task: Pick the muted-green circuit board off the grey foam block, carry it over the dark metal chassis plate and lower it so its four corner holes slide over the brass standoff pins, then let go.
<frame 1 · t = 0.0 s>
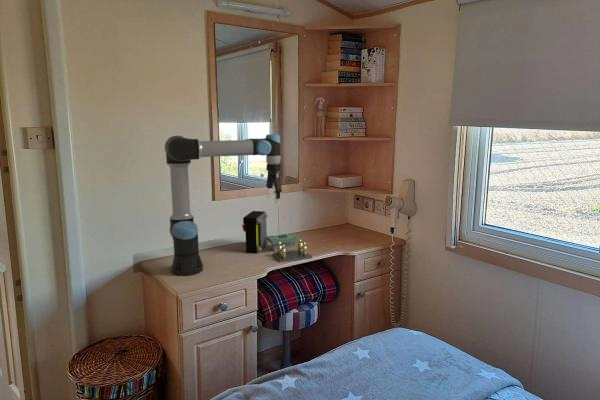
hand: (274, 202, 238), 28 cm above the table, fingers open, 13 cm apart
board: (282, 240, 247), point 5 cm above the table, touching foam block
foam block: (283, 248, 248), on the table
chassis: (292, 256, 234), on the table
electrical component: (256, 249, 248), on the table
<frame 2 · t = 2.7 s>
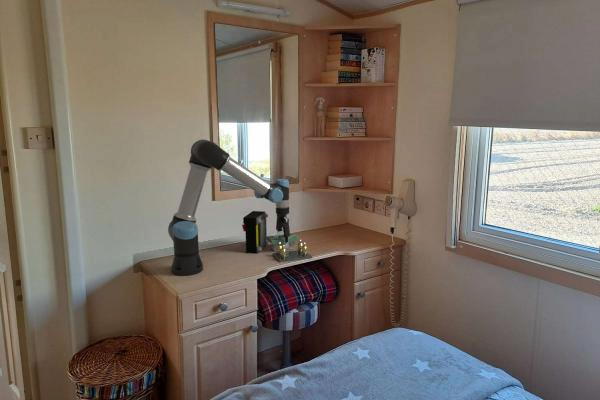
hand: (282, 245, 247), 2 cm above the table, fingers closed on board, 10 cm apart
board: (282, 240, 247), point 5 cm above the table, touching foam block, gripper
everything else where it was.
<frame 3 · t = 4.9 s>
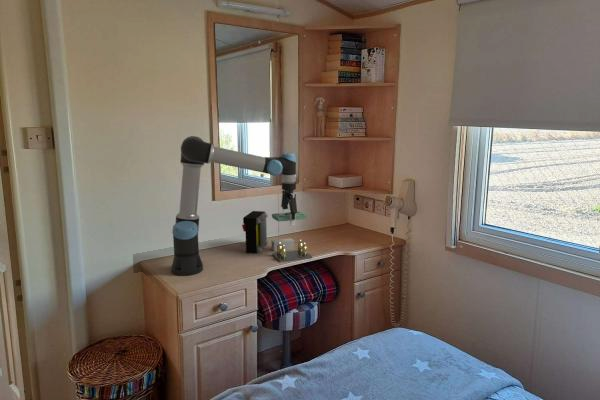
hand: (289, 223, 234), 18 cm above the table, fingers closed on board, 10 cm apart
board: (289, 218, 234), point 20 cm above the table, touching gripper
everything else where it was.
when the fingers open (4 cm above the table, at t = 7.4 s): board stays where it is, resting on chassis.
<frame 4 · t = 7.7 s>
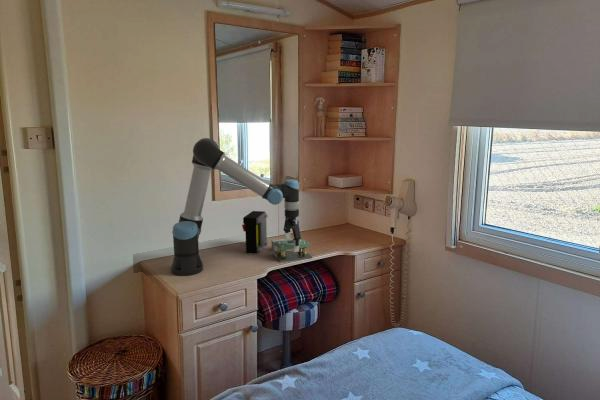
hand: (292, 248, 233), 5 cm above the table, fingers open, 13 cm apart
board: (292, 245, 233), point 6 cm above the table, touching chassis
everything else where it was.
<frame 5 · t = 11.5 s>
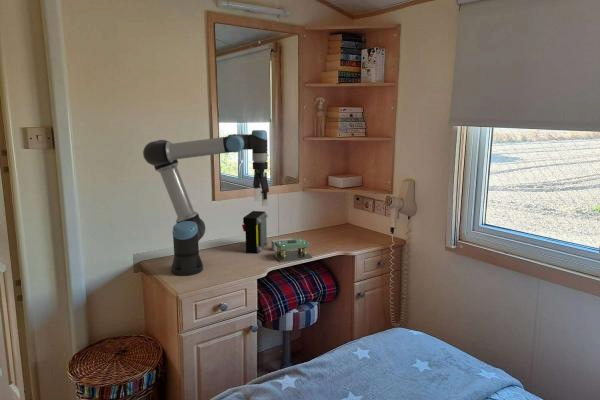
hand: (260, 203, 221), 31 cm above the table, fingers open, 13 cm apart
nothing on the table moved.
at the end: board 0.0 cm off-centre on the chassis, point 6.0 cm above the chassis's base; board tilted 0°; the gripper is holding nothing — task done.
